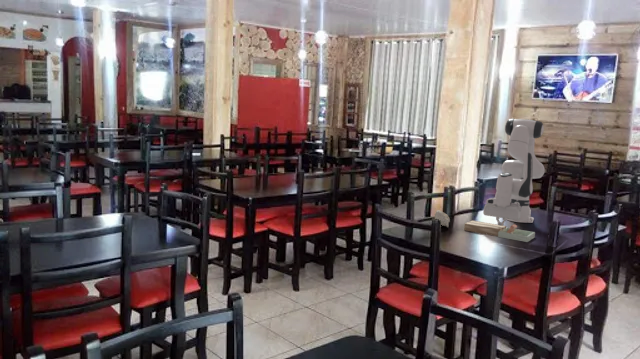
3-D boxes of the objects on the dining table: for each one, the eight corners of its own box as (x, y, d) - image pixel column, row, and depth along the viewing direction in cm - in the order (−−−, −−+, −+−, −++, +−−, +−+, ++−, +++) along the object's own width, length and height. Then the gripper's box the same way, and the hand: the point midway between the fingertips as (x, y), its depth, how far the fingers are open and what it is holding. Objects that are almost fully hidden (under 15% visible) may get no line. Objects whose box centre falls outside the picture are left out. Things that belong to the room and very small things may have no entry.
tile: (514, 223, 310) (517, 226, 309) (508, 232, 313) (511, 234, 312) (511, 225, 305) (514, 227, 304) (505, 234, 308) (508, 236, 307)
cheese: (437, 223, 310) (451, 205, 317) (427, 220, 316) (441, 202, 322) (444, 241, 319) (458, 223, 325) (434, 237, 324) (447, 220, 330)
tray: (505, 232, 318) (506, 227, 318) (534, 237, 309) (535, 232, 309) (497, 236, 306) (498, 231, 306) (527, 242, 297) (527, 236, 296)
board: (471, 226, 329) (472, 220, 328) (505, 232, 317) (506, 226, 317) (464, 230, 318) (464, 223, 318) (498, 236, 307) (499, 229, 306)
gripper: (523, 203, 307) (520, 227, 309) (487, 198, 318) (484, 221, 320) (519, 204, 302) (517, 229, 304) (483, 199, 313) (481, 223, 315)
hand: (500, 225), depth 312 cm, fingers closed
